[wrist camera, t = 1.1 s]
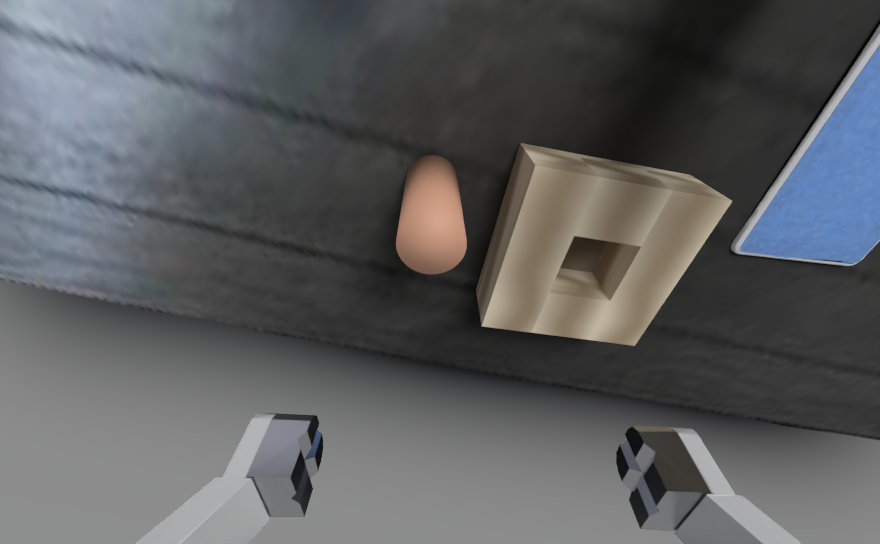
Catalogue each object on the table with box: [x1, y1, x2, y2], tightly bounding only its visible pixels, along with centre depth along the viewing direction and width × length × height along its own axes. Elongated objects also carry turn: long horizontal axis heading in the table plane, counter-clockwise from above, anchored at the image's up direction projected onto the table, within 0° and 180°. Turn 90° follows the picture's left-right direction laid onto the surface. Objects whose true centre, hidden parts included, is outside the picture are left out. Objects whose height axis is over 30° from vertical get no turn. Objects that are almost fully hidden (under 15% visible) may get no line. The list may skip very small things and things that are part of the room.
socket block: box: [476, 143, 732, 346], centre depth 30 cm, size 14×14×5 cm
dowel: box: [396, 155, 467, 274], centre depth 25 cm, size 4×4×10 cm
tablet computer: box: [731, 25, 880, 266], centre depth 29 cm, size 19×13×1 cm, turn 173°
